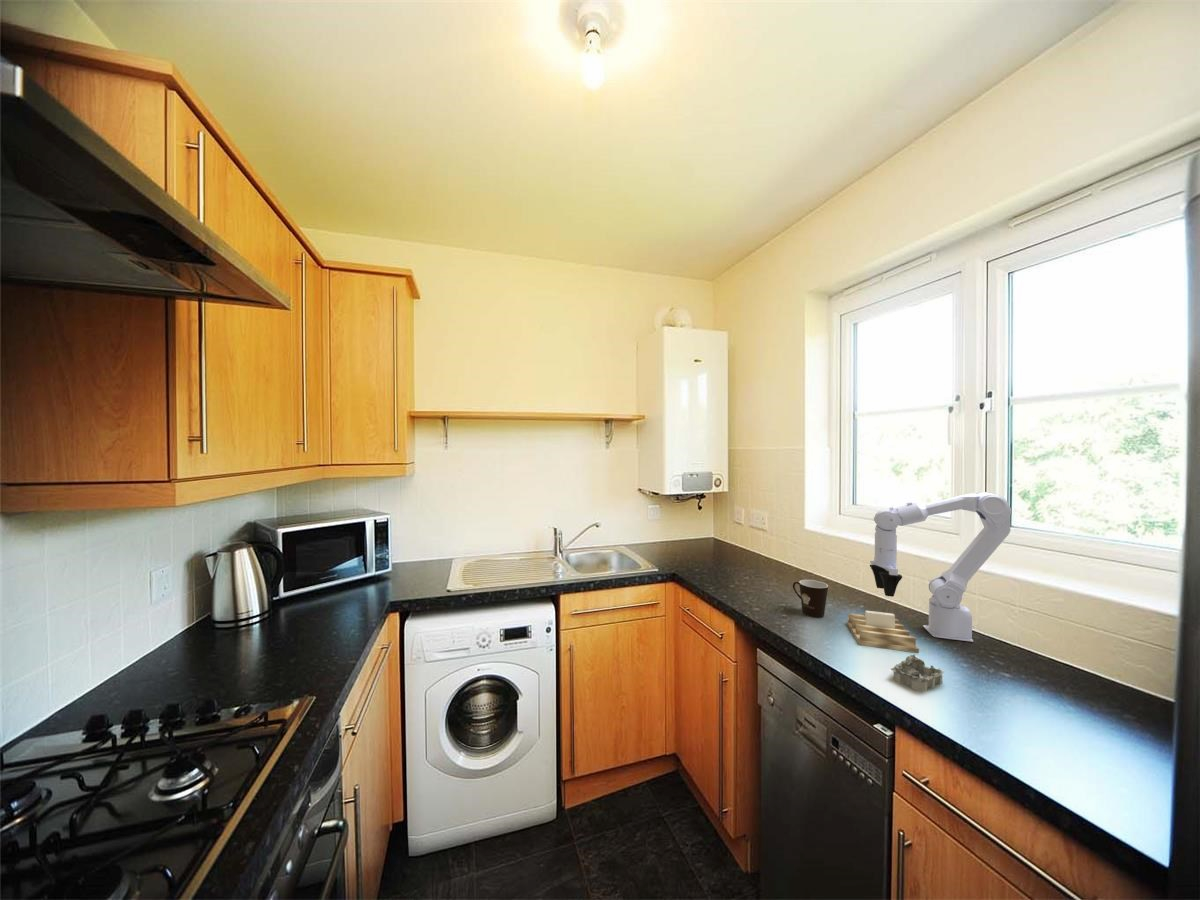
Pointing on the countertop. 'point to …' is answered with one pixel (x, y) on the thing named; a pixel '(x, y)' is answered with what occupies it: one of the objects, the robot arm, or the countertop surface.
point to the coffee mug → (812, 597)
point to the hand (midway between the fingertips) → (885, 591)
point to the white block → (880, 619)
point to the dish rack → (881, 635)
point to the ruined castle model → (917, 674)
